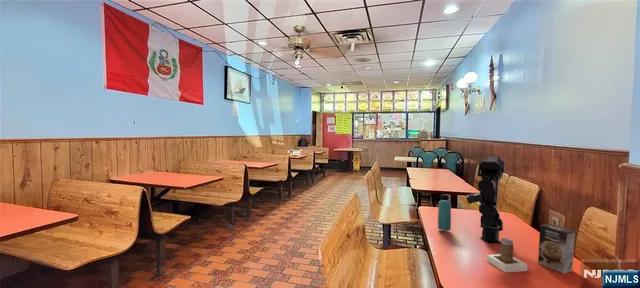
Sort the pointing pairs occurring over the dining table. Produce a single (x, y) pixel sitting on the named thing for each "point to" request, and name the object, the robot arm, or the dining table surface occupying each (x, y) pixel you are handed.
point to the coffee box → (556, 247)
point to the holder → (514, 267)
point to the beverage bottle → (444, 213)
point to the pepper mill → (506, 251)
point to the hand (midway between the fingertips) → (487, 223)
